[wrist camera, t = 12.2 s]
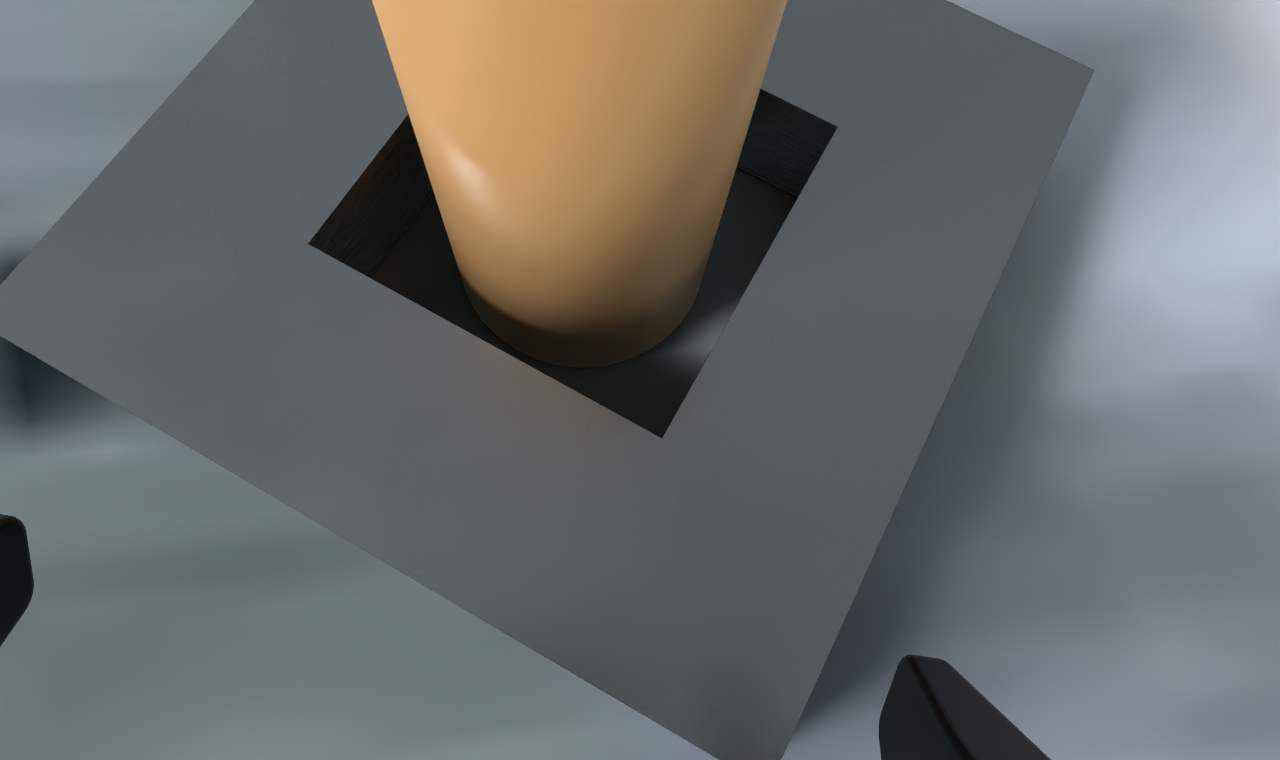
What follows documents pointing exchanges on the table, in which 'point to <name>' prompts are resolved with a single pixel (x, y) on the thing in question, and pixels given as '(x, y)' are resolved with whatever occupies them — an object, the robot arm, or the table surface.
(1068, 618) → the table surface
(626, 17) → the plug
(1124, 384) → the table surface
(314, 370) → the grey square frame
